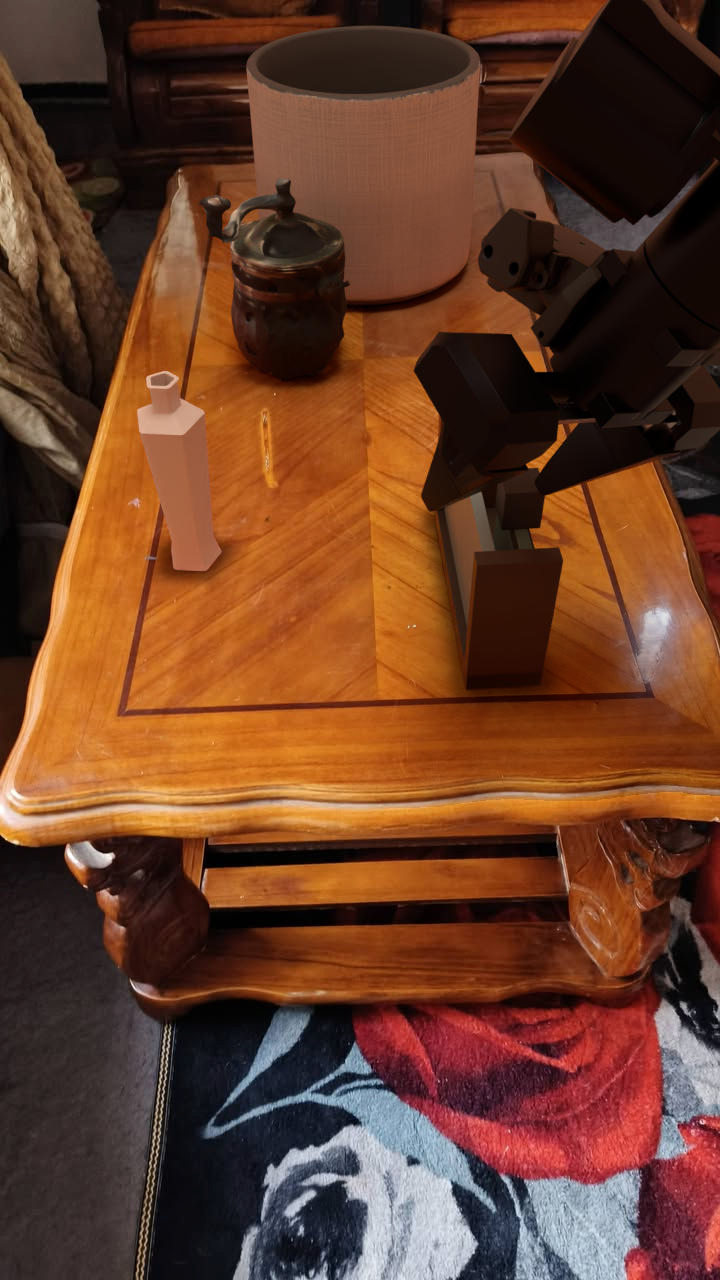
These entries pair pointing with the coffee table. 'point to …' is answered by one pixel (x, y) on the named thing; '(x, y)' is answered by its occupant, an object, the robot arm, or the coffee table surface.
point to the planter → (373, 148)
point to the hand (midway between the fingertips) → (486, 496)
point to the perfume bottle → (180, 471)
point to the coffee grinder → (283, 283)
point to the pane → (518, 511)
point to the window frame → (496, 596)
